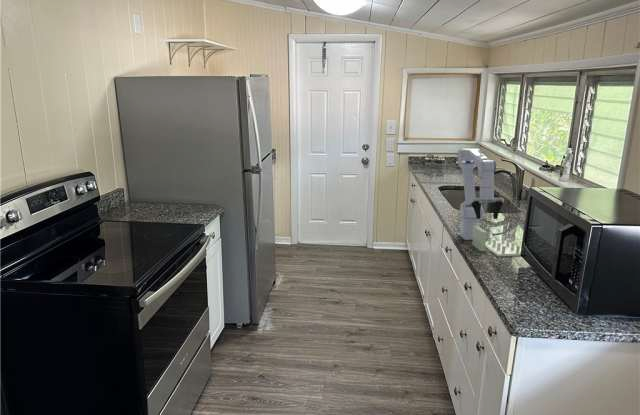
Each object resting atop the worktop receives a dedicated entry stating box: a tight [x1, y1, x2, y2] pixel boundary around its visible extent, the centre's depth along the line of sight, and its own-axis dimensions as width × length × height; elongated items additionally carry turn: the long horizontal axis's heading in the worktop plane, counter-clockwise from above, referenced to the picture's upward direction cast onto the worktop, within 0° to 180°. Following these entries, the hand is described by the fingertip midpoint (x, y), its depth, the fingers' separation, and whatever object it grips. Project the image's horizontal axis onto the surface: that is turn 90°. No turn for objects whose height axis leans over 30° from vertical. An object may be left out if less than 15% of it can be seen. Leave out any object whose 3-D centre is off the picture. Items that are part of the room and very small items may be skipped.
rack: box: [485, 235, 522, 257], centre depth 197 cm, size 17×13×4 cm
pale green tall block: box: [471, 225, 488, 252], centre depth 199 cm, size 2×9×9 cm, turn 4°
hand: (486, 218), depth 191 cm, fingers open, 7 cm apart
